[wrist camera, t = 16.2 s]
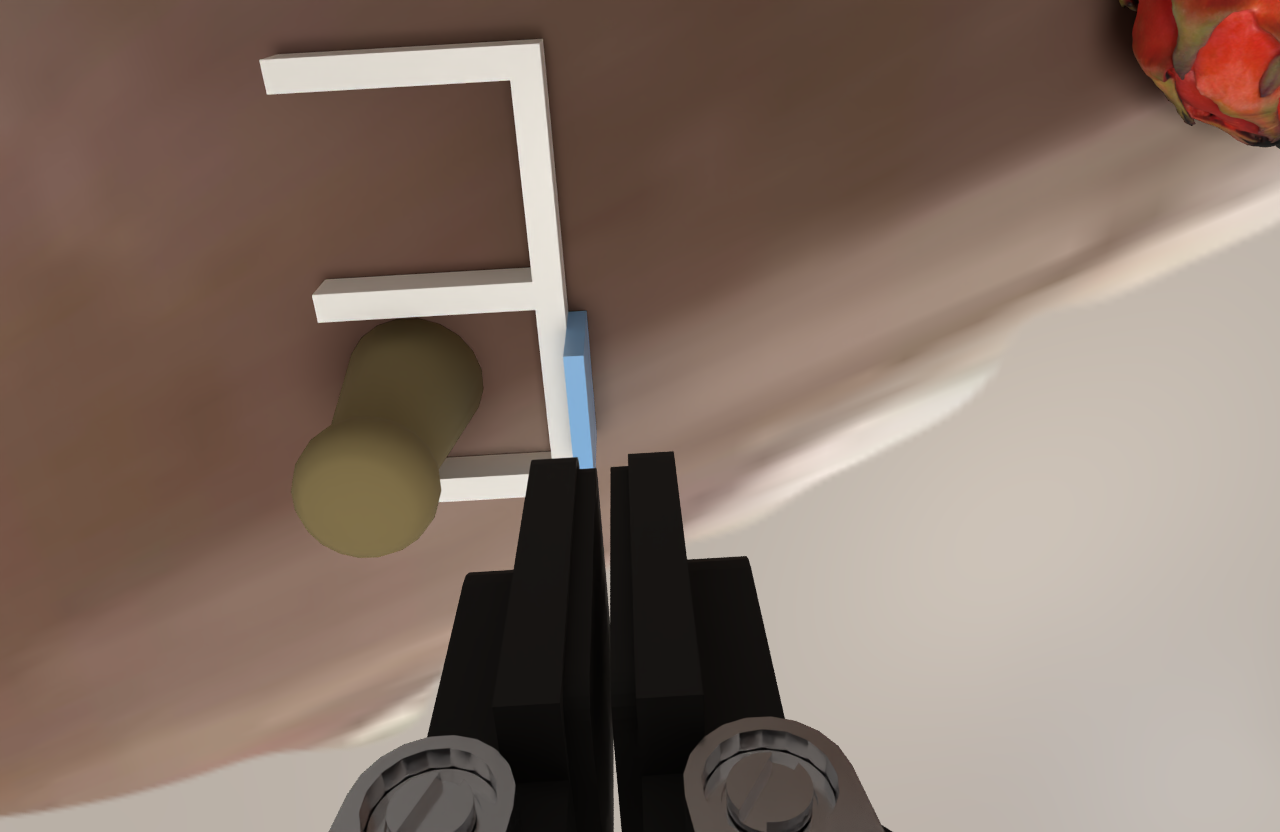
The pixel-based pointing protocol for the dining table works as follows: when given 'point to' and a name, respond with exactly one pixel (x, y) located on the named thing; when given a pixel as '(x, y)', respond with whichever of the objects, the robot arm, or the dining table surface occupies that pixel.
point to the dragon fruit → (1215, 62)
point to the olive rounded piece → (388, 439)
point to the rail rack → (482, 288)
